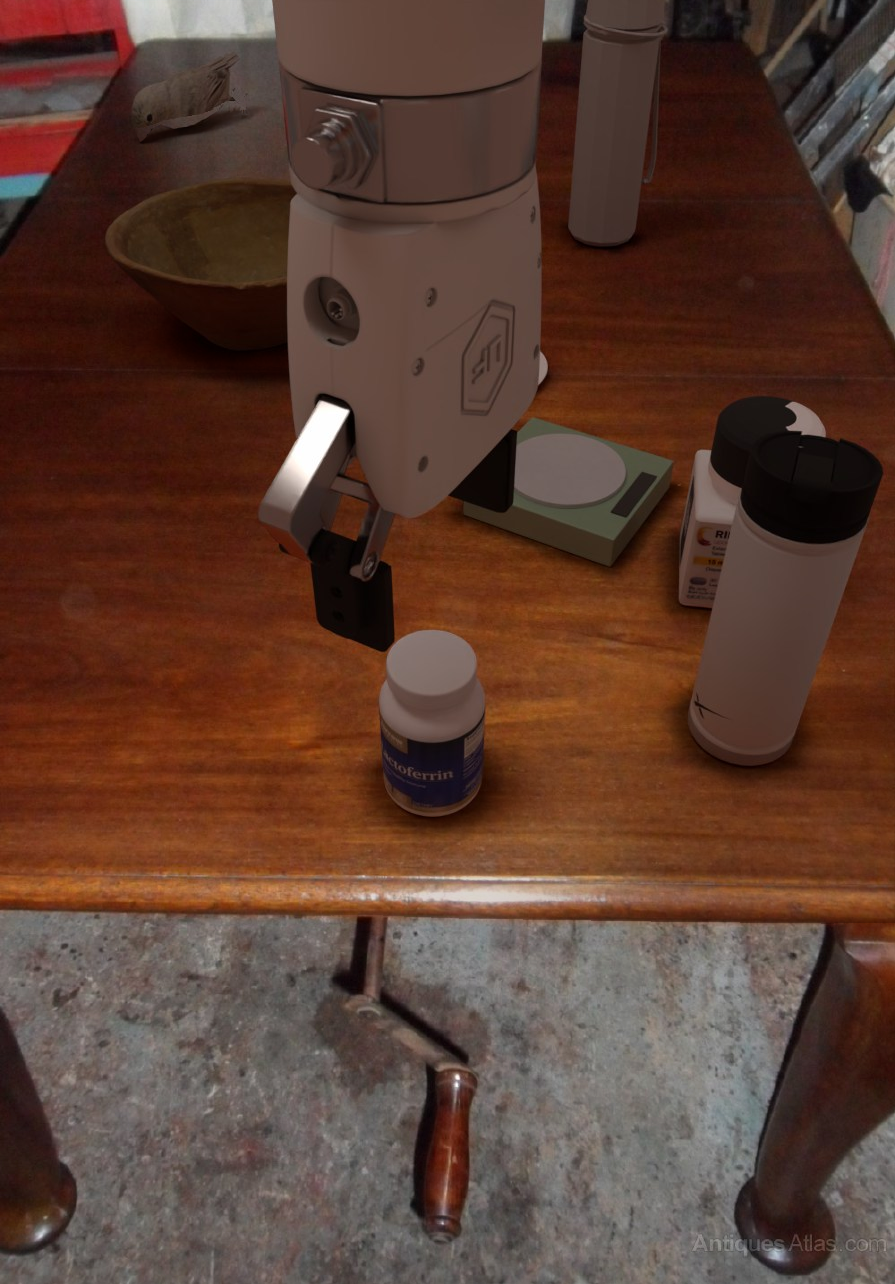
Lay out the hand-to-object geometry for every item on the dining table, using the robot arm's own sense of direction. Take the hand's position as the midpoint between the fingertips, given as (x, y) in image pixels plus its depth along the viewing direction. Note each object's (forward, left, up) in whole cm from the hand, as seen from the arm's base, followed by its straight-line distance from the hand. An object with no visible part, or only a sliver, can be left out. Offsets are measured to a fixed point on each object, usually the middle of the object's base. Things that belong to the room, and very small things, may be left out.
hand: (421, 563), depth 44 cm
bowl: (+44, -41, -21) cm, 64 cm away
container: (-7, -30, -21) cm, 37 cm away
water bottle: (+24, -77, -21) cm, 84 cm away
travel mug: (-12, -17, -21) cm, 29 cm away
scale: (+7, -32, -20) cm, 39 cm away
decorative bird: (+84, -80, -21) cm, 118 cm away
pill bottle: (+2, -4, -21) cm, 21 cm away
